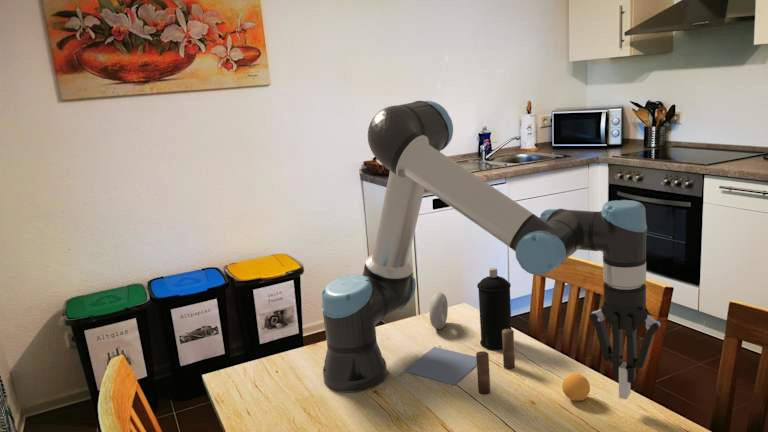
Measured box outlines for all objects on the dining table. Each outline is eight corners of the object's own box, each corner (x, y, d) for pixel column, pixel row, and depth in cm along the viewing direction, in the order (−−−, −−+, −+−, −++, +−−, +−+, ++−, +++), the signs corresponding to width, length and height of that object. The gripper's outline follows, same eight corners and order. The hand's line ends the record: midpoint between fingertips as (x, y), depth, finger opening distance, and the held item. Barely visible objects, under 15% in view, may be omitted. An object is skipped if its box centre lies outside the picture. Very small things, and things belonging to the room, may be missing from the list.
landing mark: (403, 371, 144) (403, 370, 144) (434, 347, 155) (434, 346, 155) (454, 385, 136) (454, 384, 136) (483, 359, 147) (483, 358, 146)
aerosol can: (499, 353, 148) (496, 276, 144) (473, 344, 154) (469, 270, 150) (519, 342, 154) (516, 267, 149) (493, 333, 160) (490, 261, 155)
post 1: (476, 393, 132) (474, 355, 130) (481, 387, 134) (479, 350, 132) (486, 396, 130) (485, 357, 128) (492, 390, 132) (490, 352, 130)
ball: (558, 401, 126) (557, 377, 125) (567, 389, 130) (567, 366, 129) (584, 408, 123) (584, 384, 121) (593, 396, 127) (593, 372, 126)
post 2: (501, 367, 142) (500, 332, 139) (506, 363, 144) (505, 328, 141) (512, 370, 140) (510, 334, 138) (516, 365, 142) (515, 330, 140)
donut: (441, 335, 161) (439, 300, 159) (429, 335, 162) (426, 300, 160) (450, 320, 170) (447, 286, 168) (438, 319, 171) (435, 286, 169)
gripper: (666, 280, 113) (664, 394, 119) (595, 272, 121) (597, 379, 126) (656, 294, 108) (655, 413, 113) (583, 284, 115) (585, 396, 121)
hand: (624, 395), depth 120 cm, fingers closed
